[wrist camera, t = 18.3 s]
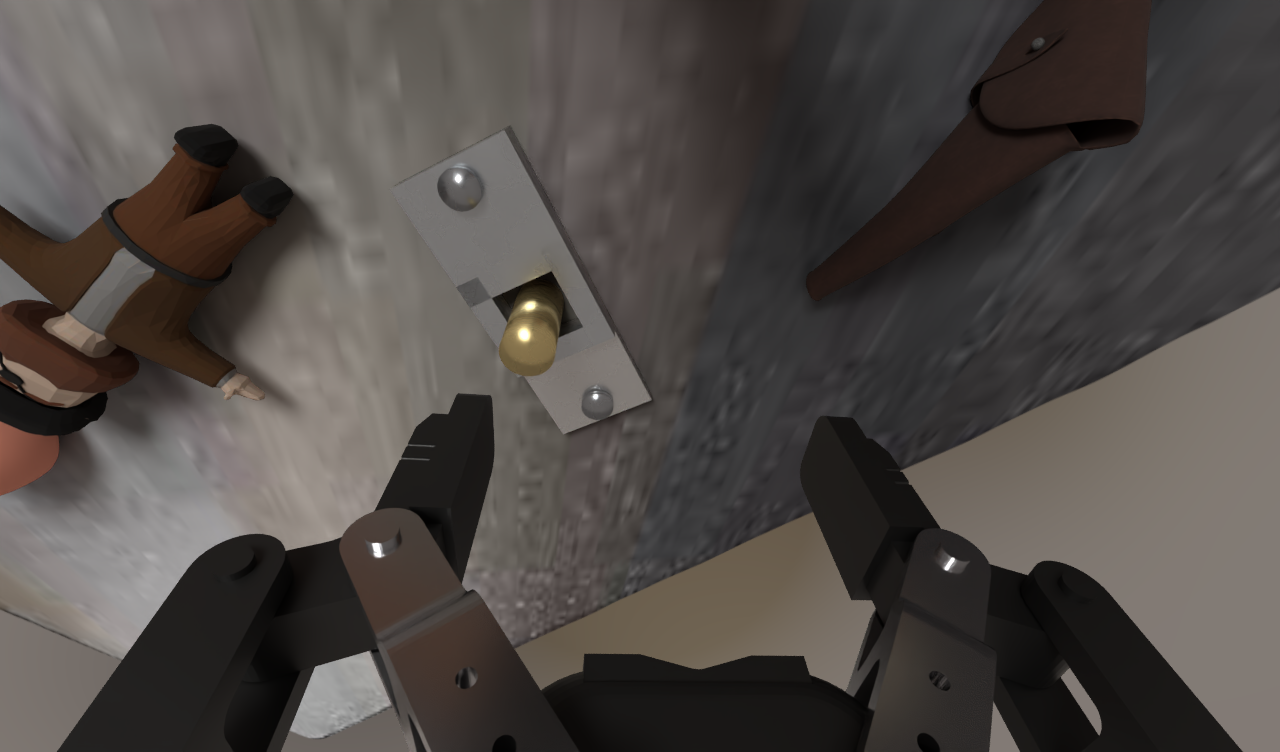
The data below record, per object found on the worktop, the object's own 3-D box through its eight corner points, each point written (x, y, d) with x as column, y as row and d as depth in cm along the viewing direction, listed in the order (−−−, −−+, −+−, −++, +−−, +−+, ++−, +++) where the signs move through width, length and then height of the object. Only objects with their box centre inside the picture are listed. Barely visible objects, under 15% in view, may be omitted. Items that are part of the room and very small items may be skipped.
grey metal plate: (400, 181, 40) (385, 192, 37) (509, 125, 38) (502, 131, 35) (564, 426, 53) (561, 447, 50) (650, 393, 51) (653, 412, 49)
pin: (508, 290, 45) (488, 341, 37) (549, 271, 44) (537, 319, 37) (531, 328, 47) (517, 383, 39) (572, 311, 46) (564, 364, 39)
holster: (843, 192, 53) (1170, -36, 34) (829, 313, 45) (1253, 103, 25) (809, 160, 52) (1133, -100, 32) (787, 281, 43) (1210, 27, 24)
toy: (383, 301, 39) (133, 519, 44) (410, 262, 47) (197, 450, 53) (7, -24, 28) (-268, 322, 33) (129, -1, 36) (-107, 273, 41)
